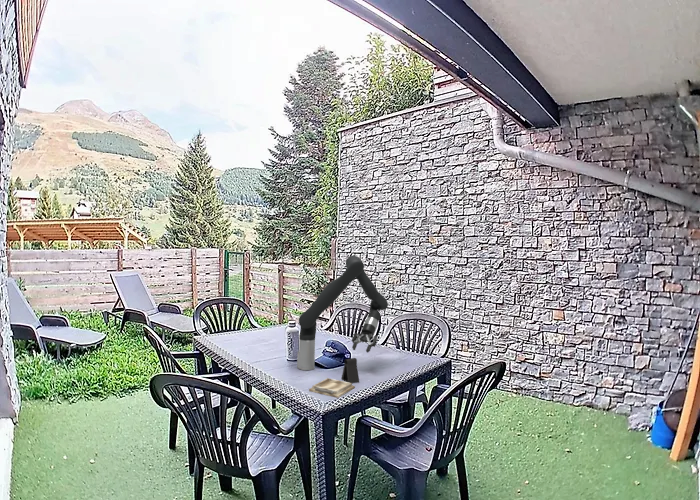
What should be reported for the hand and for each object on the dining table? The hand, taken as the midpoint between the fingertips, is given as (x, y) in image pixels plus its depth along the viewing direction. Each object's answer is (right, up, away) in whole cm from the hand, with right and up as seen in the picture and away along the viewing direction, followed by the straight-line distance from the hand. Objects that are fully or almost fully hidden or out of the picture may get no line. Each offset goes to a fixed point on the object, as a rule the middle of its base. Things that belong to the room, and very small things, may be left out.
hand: (360, 350), depth 254 cm
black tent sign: (-6, -15, -9) cm, 18 cm away
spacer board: (-15, -15, -23) cm, 31 cm away
